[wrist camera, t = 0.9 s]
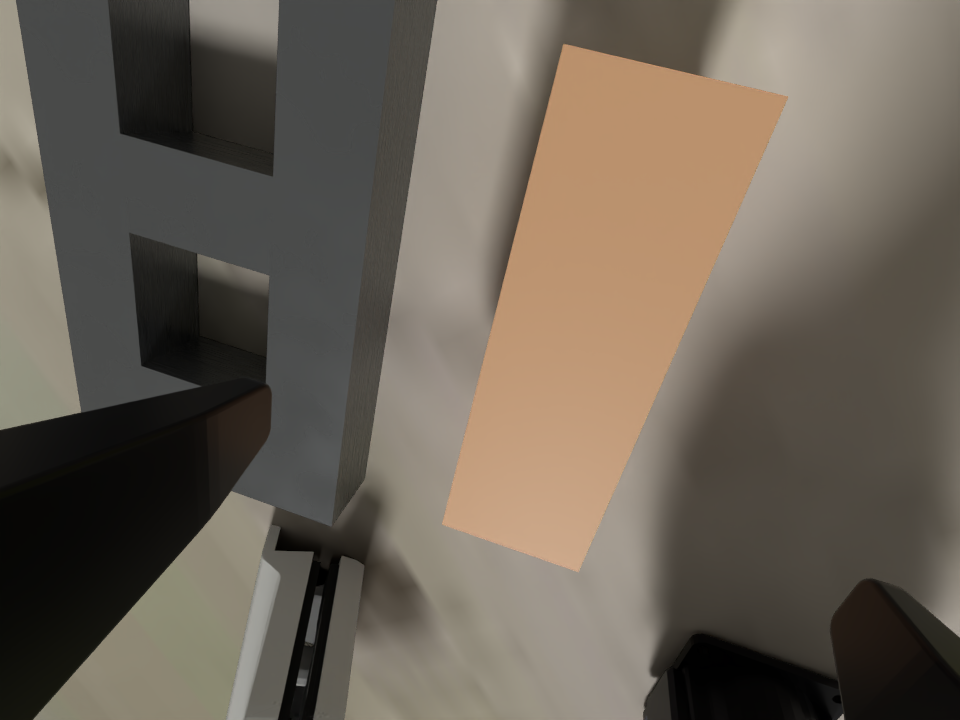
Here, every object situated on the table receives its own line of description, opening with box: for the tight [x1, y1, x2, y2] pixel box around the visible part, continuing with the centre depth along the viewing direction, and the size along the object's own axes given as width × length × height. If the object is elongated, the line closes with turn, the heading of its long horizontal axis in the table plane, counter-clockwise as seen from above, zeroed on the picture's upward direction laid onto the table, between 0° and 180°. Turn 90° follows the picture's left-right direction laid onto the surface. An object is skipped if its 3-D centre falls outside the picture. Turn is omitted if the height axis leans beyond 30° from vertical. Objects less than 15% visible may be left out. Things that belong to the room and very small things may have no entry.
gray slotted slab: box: [16, 0, 437, 527], centre depth 17 cm, size 11×22×3 cm, turn 167°
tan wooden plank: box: [442, 44, 788, 572], centre depth 15 cm, size 4×12×6 cm, turn 167°
